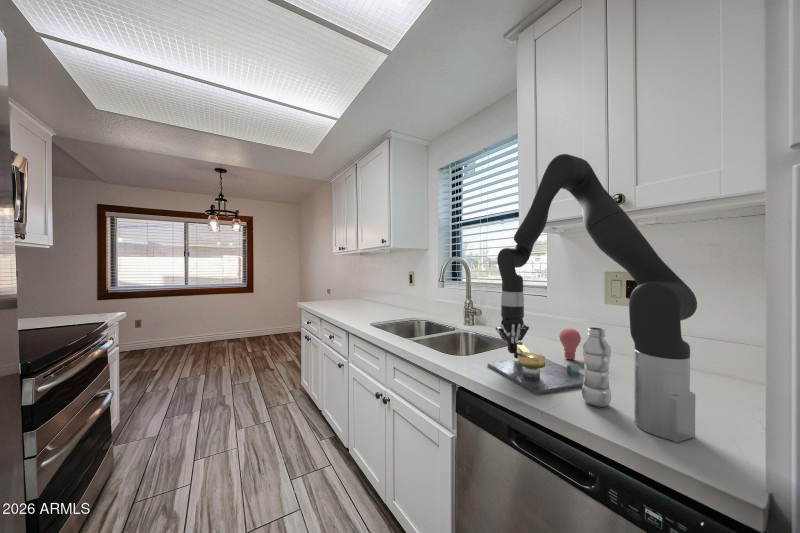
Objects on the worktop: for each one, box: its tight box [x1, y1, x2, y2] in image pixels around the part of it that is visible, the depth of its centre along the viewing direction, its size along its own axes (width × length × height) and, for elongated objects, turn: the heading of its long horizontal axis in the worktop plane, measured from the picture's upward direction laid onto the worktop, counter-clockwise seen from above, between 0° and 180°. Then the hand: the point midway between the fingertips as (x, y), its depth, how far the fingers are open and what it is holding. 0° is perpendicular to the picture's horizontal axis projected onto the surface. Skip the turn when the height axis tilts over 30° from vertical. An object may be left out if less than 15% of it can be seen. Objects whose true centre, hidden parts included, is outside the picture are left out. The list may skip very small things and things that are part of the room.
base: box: [487, 358, 584, 396], centre depth 97 cm, size 24×23×5 cm
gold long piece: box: [513, 341, 546, 368], centre depth 98 cm, size 20×8×6 cm, turn 173°
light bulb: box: [559, 327, 582, 361], centre depth 111 cm, size 7×7×12 cm
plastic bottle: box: [581, 326, 612, 408], centre depth 76 cm, size 6×7×20 cm
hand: (512, 352), depth 102 cm, fingers closed
